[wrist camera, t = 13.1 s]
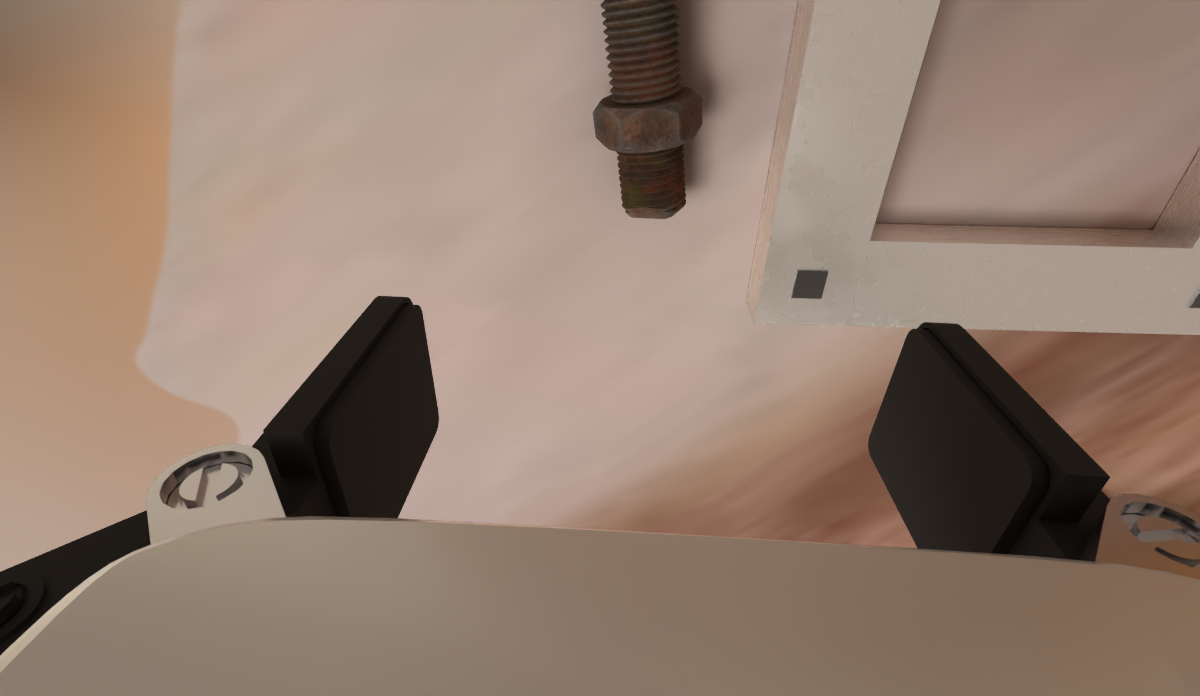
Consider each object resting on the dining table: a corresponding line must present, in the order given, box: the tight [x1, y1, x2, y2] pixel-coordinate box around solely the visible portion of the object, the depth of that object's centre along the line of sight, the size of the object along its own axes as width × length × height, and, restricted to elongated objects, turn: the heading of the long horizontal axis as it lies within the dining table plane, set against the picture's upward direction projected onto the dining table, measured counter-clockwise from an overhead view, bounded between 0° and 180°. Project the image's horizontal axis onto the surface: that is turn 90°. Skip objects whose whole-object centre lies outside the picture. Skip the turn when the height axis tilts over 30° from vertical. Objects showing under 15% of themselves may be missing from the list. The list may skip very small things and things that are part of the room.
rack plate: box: [746, 0, 1200, 335], centre depth 25 cm, size 26×26×3 cm
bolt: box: [593, 0, 702, 219], centre depth 24 cm, size 6×5×15 cm
